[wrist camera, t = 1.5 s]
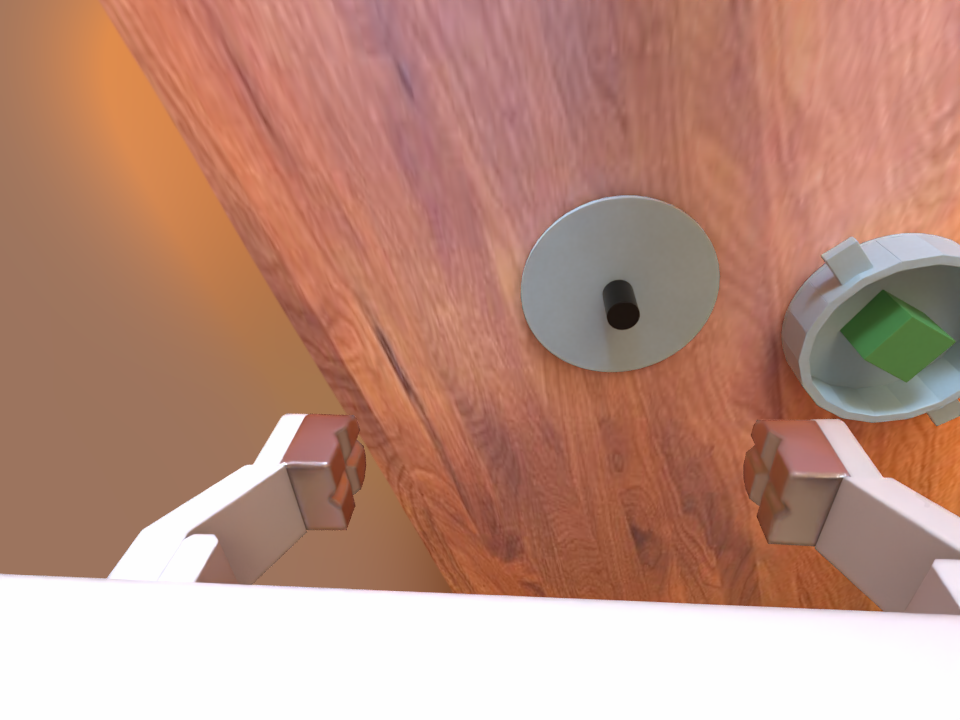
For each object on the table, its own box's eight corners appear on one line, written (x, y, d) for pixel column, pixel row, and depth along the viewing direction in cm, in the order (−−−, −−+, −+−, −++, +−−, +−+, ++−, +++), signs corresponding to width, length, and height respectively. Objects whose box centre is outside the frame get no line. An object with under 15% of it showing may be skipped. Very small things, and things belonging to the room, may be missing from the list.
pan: (924, 165, 42) (961, 183, 39) (1023, 348, 50) (1062, 378, 46) (731, 289, 49) (746, 314, 45) (843, 433, 57) (864, 465, 53)
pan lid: (641, 147, 43) (652, 166, 39) (754, 295, 49) (774, 326, 45) (482, 278, 51) (476, 306, 46) (597, 393, 57) (601, 428, 52)
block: (882, 288, 47) (912, 316, 44) (924, 312, 48) (956, 341, 44) (839, 330, 50) (863, 359, 46) (879, 352, 51) (906, 383, 47)
